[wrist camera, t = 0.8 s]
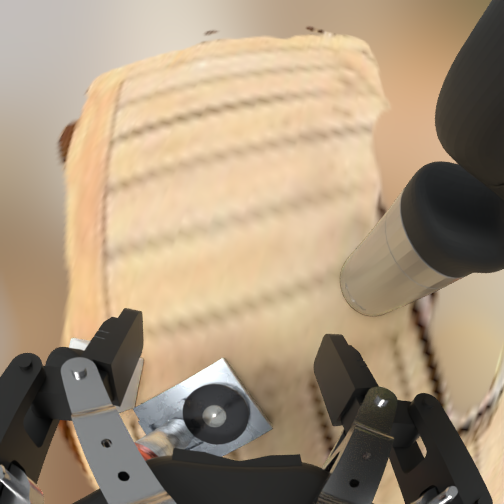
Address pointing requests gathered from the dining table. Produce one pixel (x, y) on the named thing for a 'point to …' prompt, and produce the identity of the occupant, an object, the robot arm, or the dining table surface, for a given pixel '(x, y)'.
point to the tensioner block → (208, 411)
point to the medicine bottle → (77, 349)
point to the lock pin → (164, 439)
